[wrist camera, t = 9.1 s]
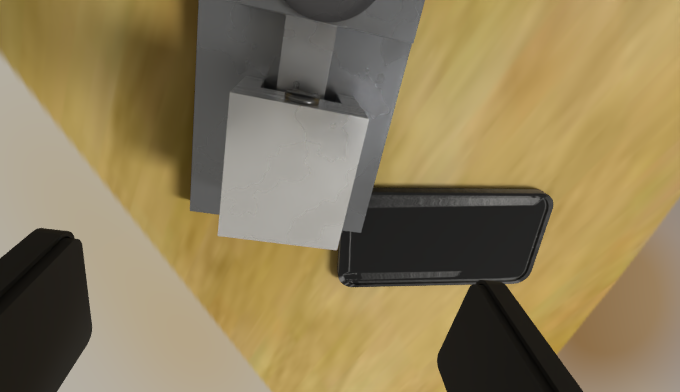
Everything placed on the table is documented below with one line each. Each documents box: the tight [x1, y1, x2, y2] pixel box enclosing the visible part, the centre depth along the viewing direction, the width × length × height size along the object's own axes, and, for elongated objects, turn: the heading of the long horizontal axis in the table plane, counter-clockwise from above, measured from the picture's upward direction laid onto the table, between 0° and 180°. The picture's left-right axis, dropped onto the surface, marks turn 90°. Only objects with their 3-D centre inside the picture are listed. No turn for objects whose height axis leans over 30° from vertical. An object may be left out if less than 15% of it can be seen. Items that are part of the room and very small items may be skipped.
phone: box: [337, 188, 553, 287], centre depth 27 cm, size 8×1×15 cm
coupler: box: [190, 0, 425, 233], centre depth 17 cm, size 16×11×9 cm
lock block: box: [218, 76, 369, 250], centre depth 19 cm, size 6×7×5 cm
